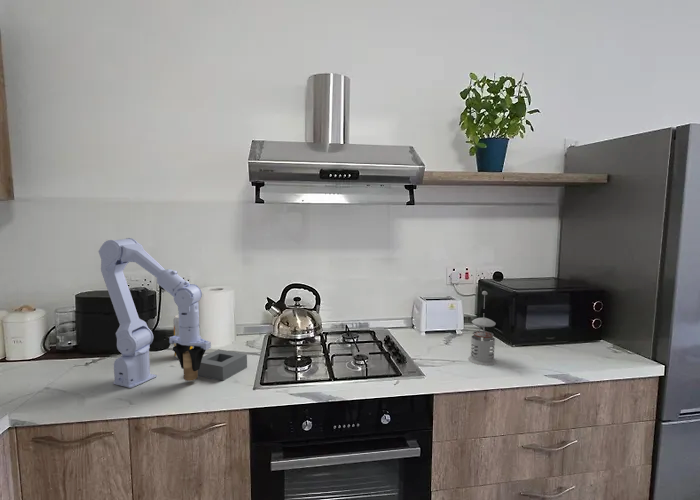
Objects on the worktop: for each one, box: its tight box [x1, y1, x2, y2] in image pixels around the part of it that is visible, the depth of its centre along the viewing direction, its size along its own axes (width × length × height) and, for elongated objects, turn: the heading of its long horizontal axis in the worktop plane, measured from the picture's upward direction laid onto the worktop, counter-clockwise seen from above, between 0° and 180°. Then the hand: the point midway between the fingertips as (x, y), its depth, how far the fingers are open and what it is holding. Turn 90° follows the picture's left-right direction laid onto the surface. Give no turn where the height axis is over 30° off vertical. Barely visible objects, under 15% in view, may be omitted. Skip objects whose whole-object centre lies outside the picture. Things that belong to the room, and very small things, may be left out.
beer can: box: [172, 314, 194, 360], centre depth 147 cm, size 6×6×15 cm
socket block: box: [198, 349, 248, 382], centre depth 135 cm, size 12×12×4 cm
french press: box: [467, 290, 497, 366], centre depth 145 cm, size 10×12×25 cm
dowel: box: [182, 351, 199, 382], centre depth 125 cm, size 4×4×8 cm
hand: (190, 368), depth 125 cm, fingers closed on dowel, 4 cm apart
